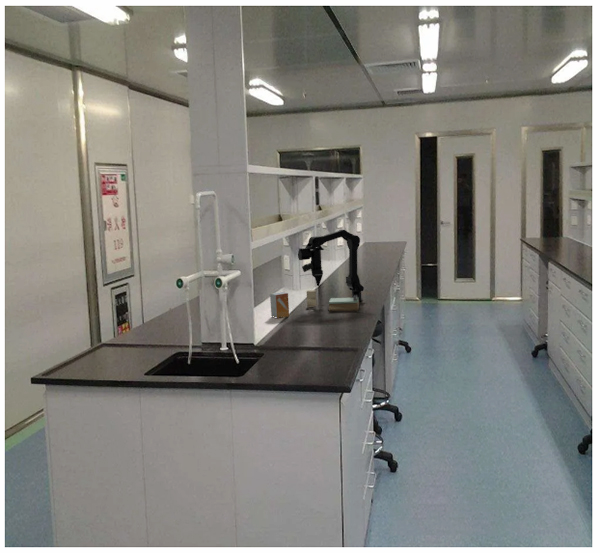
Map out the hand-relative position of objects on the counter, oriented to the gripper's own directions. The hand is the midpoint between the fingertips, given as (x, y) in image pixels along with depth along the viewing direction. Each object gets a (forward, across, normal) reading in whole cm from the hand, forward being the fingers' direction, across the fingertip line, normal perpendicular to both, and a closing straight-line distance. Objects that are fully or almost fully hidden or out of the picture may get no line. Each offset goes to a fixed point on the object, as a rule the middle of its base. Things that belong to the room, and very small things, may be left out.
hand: (317, 284), depth 347 cm
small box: (+13, +23, -22) cm, 35 cm away
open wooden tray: (+13, +13, +14) cm, 23 cm away
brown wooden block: (+13, -2, -4) cm, 14 cm away
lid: (+9, +13, +14) cm, 21 cm away
